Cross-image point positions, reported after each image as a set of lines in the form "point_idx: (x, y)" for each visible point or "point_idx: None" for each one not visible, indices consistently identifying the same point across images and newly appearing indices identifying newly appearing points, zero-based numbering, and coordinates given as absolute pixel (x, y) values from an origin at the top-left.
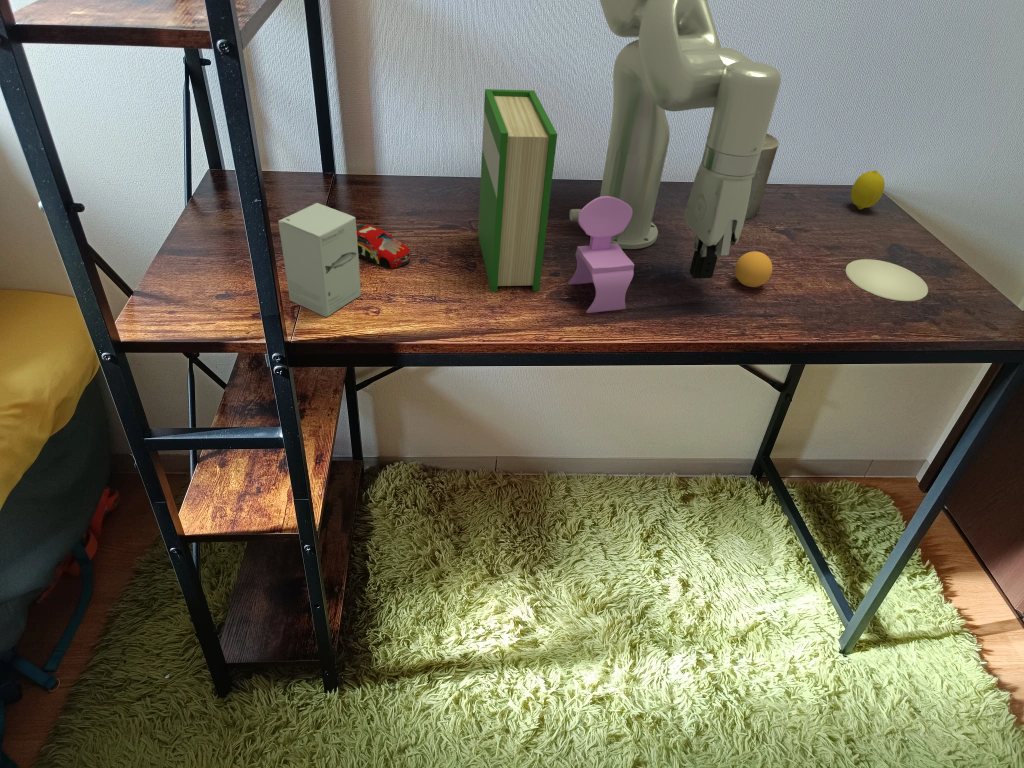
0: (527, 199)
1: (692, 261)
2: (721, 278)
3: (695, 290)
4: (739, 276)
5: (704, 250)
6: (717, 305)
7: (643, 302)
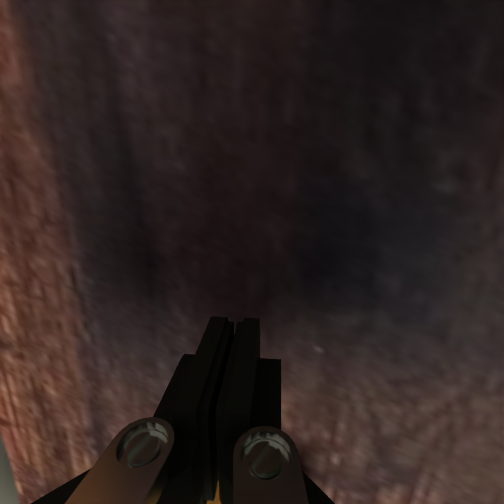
0: None
1: (245, 358)
2: (308, 423)
3: (237, 309)
4: None
5: (92, 480)
6: (142, 340)
7: (145, 44)
